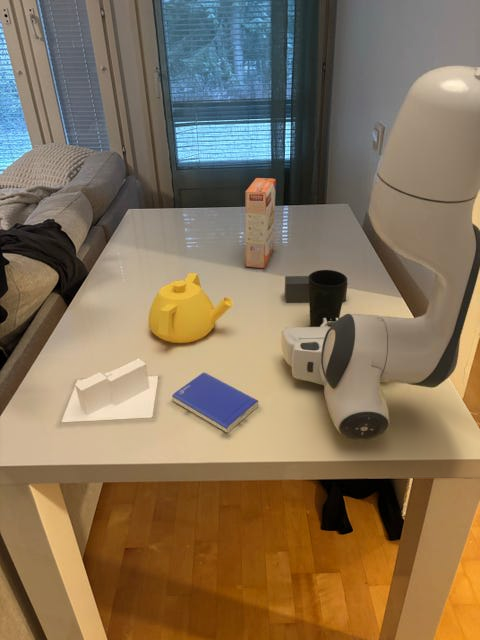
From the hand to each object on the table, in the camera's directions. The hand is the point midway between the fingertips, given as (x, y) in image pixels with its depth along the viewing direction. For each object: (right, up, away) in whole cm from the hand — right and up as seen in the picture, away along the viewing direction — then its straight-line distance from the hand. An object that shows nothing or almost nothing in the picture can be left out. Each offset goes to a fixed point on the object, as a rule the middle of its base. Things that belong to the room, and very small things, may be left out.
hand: (330, 320), depth 92 cm
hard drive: (-22, -14, -12) cm, 29 cm away
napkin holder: (-40, -14, -10) cm, 43 cm away
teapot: (-28, -2, +9) cm, 29 cm away
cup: (0, -2, +8) cm, 8 cm away
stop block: (0, +5, +19) cm, 20 cm away
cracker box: (-12, +17, +40) cm, 45 cm away
